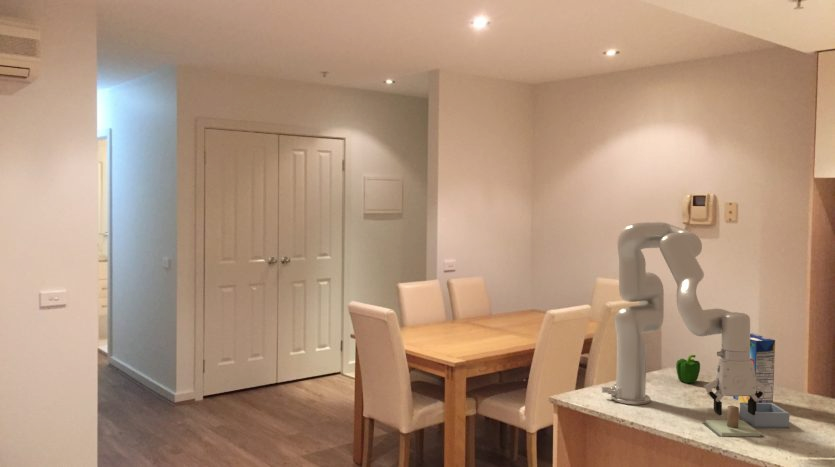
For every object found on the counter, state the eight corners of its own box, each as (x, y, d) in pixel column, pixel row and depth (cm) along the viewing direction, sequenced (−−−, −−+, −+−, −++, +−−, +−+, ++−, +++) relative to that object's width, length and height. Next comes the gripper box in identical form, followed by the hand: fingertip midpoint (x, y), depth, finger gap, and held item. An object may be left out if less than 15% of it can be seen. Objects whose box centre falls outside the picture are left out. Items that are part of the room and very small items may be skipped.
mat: (718, 438, 198) (718, 436, 198) (701, 424, 210) (701, 422, 210) (764, 439, 198) (764, 437, 198) (745, 425, 210) (745, 423, 210)
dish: (754, 429, 206) (755, 412, 206) (739, 418, 216) (740, 402, 216) (788, 429, 206) (789, 413, 206) (771, 418, 216) (772, 402, 216)
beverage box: (754, 407, 227) (756, 340, 226) (732, 398, 238) (735, 334, 237) (772, 406, 228) (775, 340, 227) (750, 397, 239) (753, 333, 238)
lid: (721, 436, 199) (722, 413, 198) (705, 423, 210) (706, 401, 209) (760, 436, 199) (761, 413, 198) (742, 423, 210) (743, 401, 209)
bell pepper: (678, 384, 255) (679, 357, 254) (673, 378, 263) (674, 352, 262) (702, 385, 253) (703, 358, 253) (697, 379, 262) (698, 353, 261)
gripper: (710, 358, 199) (710, 418, 200) (771, 358, 199) (771, 417, 200) (700, 352, 207) (699, 410, 207) (759, 352, 206) (758, 410, 207)
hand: (734, 413), depth 203 cm, fingers open, 9 cm apart
